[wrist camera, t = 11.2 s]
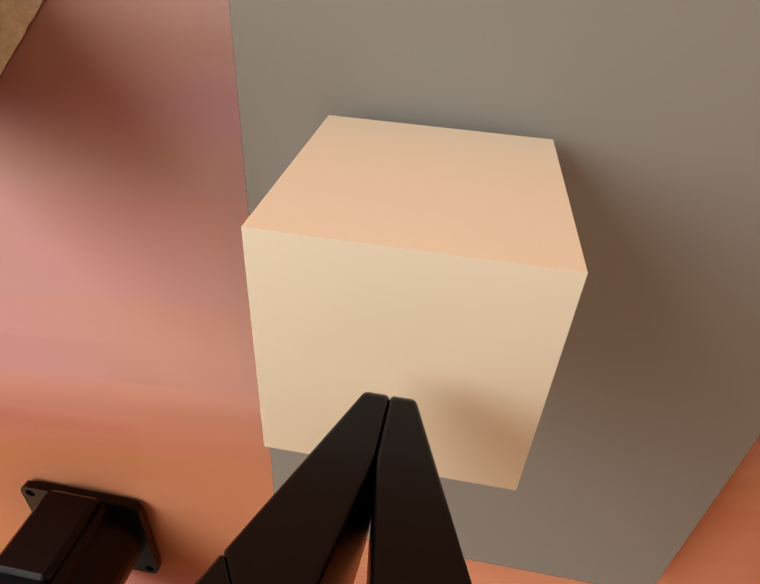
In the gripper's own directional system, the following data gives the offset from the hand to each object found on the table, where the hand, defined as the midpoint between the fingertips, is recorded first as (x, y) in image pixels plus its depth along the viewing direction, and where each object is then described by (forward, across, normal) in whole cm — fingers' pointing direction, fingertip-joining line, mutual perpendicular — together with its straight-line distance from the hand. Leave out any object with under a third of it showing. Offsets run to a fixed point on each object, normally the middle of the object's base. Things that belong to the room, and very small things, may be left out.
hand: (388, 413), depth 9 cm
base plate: (+8, -3, +5) cm, 10 cm away
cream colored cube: (+6, 0, 0) cm, 7 cm away
